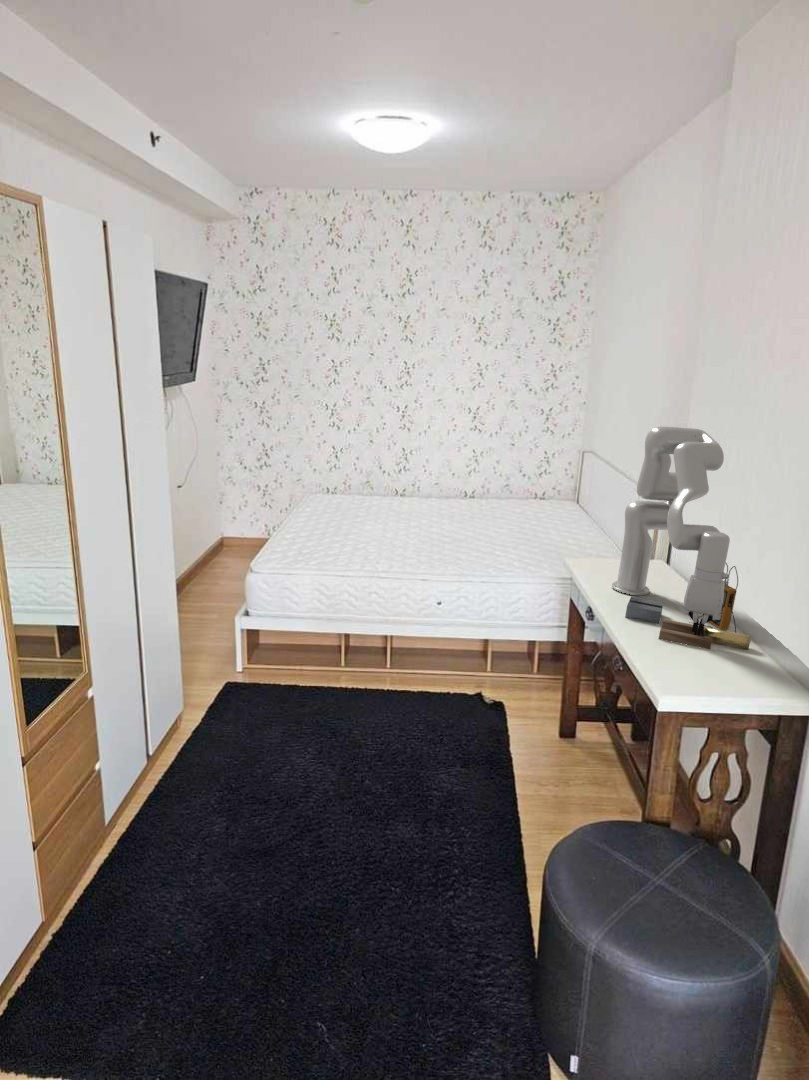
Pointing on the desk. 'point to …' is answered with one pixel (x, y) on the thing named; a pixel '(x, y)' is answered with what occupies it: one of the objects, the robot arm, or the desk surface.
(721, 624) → the multimeter
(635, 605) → the v block
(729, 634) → the axle
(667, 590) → the desk surface
